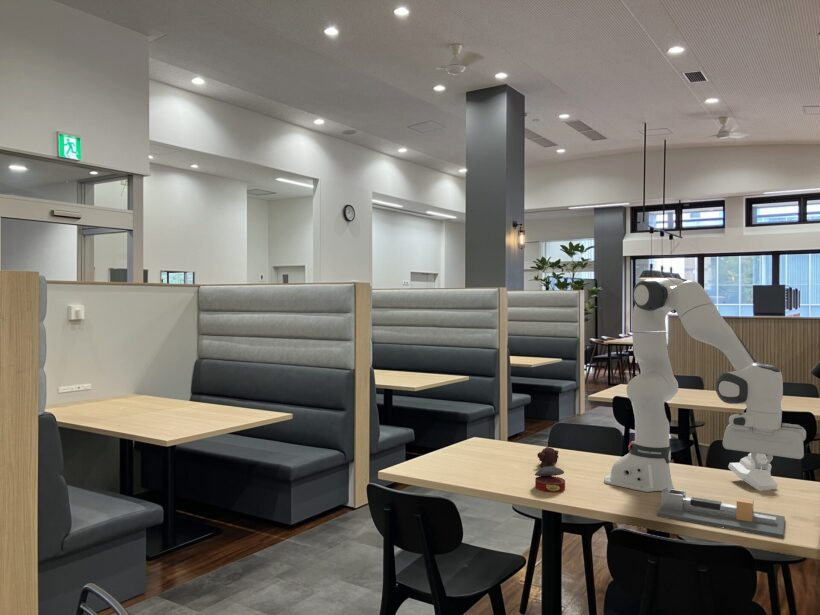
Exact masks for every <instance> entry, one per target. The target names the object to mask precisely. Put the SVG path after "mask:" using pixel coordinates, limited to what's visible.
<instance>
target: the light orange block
mask: <svg viewBox="0 0 820 615" xmlns="http://www.w3.org/2000/svg"><path fill="white" fill-rule="evenodd" d="M754 501H755V500H754V498H748V497H742V496H738V497H737V498H736V505H737V508H736V519H737V520H743V521H749V522H752V513H753V511H754V504H755V503H754Z"/></svg>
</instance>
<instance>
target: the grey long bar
mask: <svg viewBox="0 0 820 615" xmlns="http://www.w3.org/2000/svg"><path fill="white" fill-rule="evenodd" d="M686 492H687V491H685V490H679V489H675V488H673V489H668V488H664V490H663V491H660V494H661V498H660V499H661V500H660V508H661V507H663V508H669V509H675V510H681V511H683V510H688V511H694V512H700V513H706V514H712V515H718V516H724V517H730V518H735V519H736V512H730V511H724V510H718V509H712V508H706V507H700V506H694V505H688V504H683V497H687V496H686V494H687V493H686ZM752 521H753V522H759V523H765V524H771V525H776V517H773V516H767V515H761V514H755V513H752Z"/></svg>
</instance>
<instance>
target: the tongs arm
mask: <svg viewBox="0 0 820 615" xmlns="http://www.w3.org/2000/svg"><path fill="white" fill-rule="evenodd" d="M683 504H688V505H694V506H700V507H706V508H712V509H718V510H724V511H730V512H736V508H737V504H729V503H724V502H722V501H721V500H713V499H708V498H702V497H694V496H692V497H687V496H686V497H683Z"/></svg>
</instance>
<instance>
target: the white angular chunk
mask: <svg viewBox="0 0 820 615" xmlns="http://www.w3.org/2000/svg"><path fill="white" fill-rule="evenodd" d="M756 459H757V461H758V462H761V469H755V462H754V461H753V459H752V457H751V452H749V453H748V454H747V456H744V457H742V458H740V460H739V462H729V464H728V467H727V468H728V469H729V470H731V472H733V473H734V475H735V476H737V478H740V479H741V480H742V481H744V482H745V483H747V484H748V485H749V486H751V487H753V488H754V489H755V490H757V491H758V490H759V491H758V492H761V491H760V490H764V491H772V490H771V489H774V490H778V486H779V484H778V482H776V481H775V480H774V478H773V477H772V473H771V471H772V464H771V463H769V464H768V471H767V470H762V463H766V462H767V460H768V458H767V455H766V454H759V453H757V456H756Z"/></svg>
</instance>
